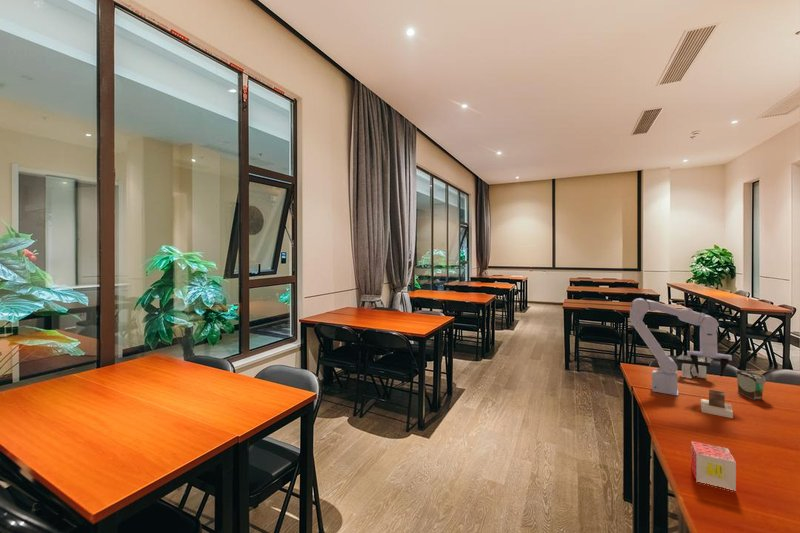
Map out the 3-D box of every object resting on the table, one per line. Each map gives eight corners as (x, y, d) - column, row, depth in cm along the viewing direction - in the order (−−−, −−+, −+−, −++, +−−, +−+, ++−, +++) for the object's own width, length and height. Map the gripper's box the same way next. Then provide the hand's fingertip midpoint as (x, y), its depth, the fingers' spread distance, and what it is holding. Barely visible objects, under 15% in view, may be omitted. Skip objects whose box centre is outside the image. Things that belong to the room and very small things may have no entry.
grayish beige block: (708, 405, 139) (708, 392, 139) (709, 401, 142) (709, 389, 142) (724, 408, 136) (724, 395, 136) (724, 404, 139) (724, 392, 139)
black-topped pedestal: (655, 378, 180) (655, 352, 180) (665, 367, 198) (666, 344, 198) (729, 392, 160) (729, 363, 159) (734, 379, 177) (734, 353, 177)
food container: (774, 402, 147) (774, 379, 147) (757, 401, 148) (757, 378, 148) (751, 392, 159) (751, 370, 159) (735, 391, 160) (735, 369, 160)
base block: (701, 413, 139) (701, 405, 139) (700, 405, 146) (701, 398, 146) (732, 419, 133) (732, 411, 133) (730, 411, 140) (730, 404, 140)
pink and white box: (696, 482, 95) (696, 453, 95) (691, 467, 101) (691, 440, 101) (736, 492, 91) (736, 462, 90) (728, 476, 97) (728, 448, 97)
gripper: (687, 342, 154) (687, 373, 154) (732, 347, 145) (733, 379, 145) (686, 340, 159) (687, 369, 159) (730, 343, 150) (731, 375, 150)
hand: (709, 374), depth 153 cm, fingers open, 7 cm apart
